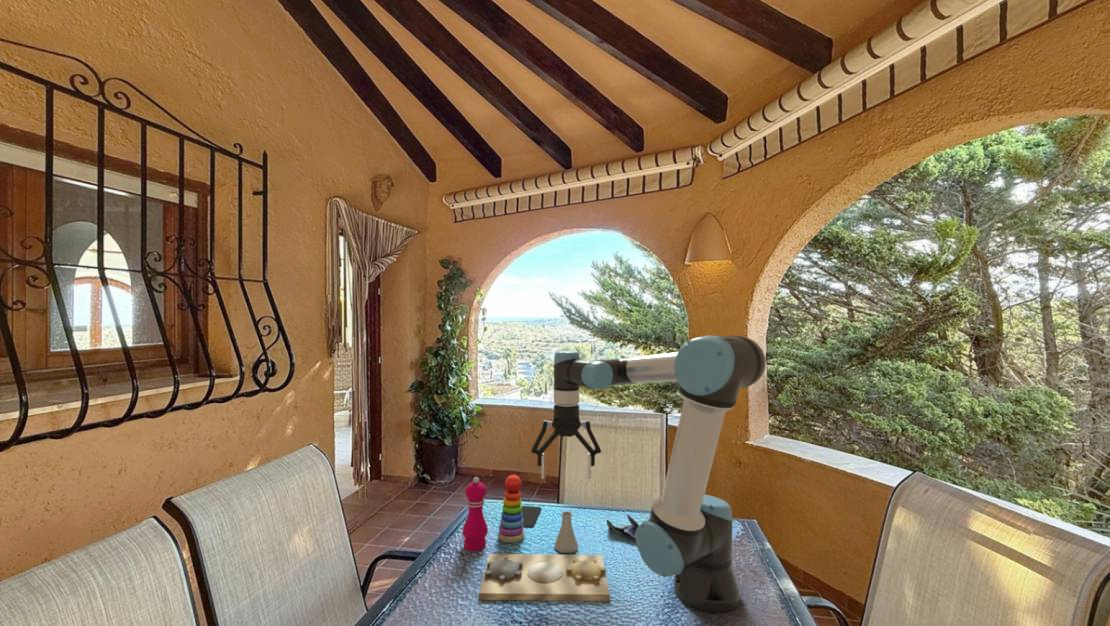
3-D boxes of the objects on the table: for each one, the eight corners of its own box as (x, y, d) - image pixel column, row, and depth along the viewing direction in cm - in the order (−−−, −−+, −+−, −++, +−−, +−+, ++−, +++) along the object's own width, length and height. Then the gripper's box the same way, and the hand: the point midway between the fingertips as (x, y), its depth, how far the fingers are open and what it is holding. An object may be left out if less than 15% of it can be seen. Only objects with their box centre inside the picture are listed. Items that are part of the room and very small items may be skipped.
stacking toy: (520, 545, 133) (521, 481, 133) (494, 542, 135) (495, 479, 135) (527, 533, 141) (528, 472, 141) (502, 530, 142) (503, 470, 143)
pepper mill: (490, 549, 130) (491, 479, 131) (464, 554, 128) (466, 482, 128) (484, 538, 137) (485, 471, 137) (460, 542, 134) (461, 474, 135)
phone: (510, 524, 146) (521, 505, 161) (510, 527, 146) (521, 507, 161) (533, 526, 145) (542, 507, 159) (533, 529, 145) (542, 509, 159)
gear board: (601, 560, 125) (601, 550, 125) (609, 601, 107) (609, 589, 107) (489, 559, 125) (489, 549, 125) (478, 599, 107) (478, 588, 107)
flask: (550, 543, 135) (551, 509, 135) (573, 540, 137) (574, 507, 137) (558, 555, 128) (558, 520, 128) (582, 552, 130) (582, 517, 130)
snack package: (629, 523, 150) (600, 529, 144) (632, 505, 149) (603, 510, 143) (653, 545, 139) (623, 553, 134) (656, 526, 139) (626, 533, 133)
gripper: (607, 402, 137) (606, 472, 137) (524, 401, 137) (523, 472, 136) (610, 406, 130) (610, 481, 129) (523, 406, 129) (522, 481, 129)
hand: (566, 477), depth 133 cm, fingers open, 13 cm apart
